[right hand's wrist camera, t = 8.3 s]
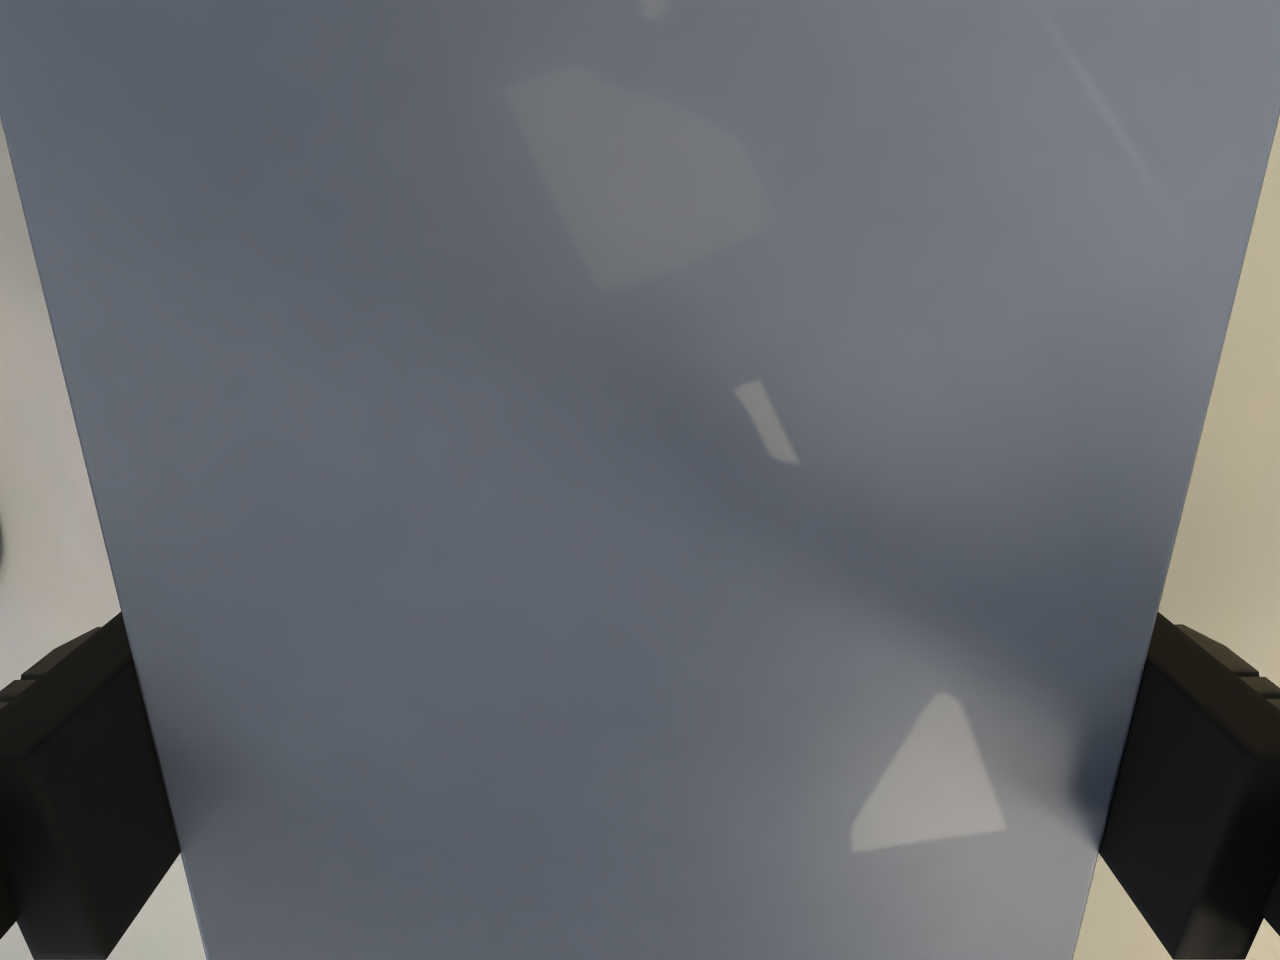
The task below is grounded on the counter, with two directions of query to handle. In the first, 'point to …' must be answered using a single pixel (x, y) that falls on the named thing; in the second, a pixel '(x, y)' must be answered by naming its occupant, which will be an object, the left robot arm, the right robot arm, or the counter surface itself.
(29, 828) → the right robot arm
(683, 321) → the cabinet
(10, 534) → the counter surface
